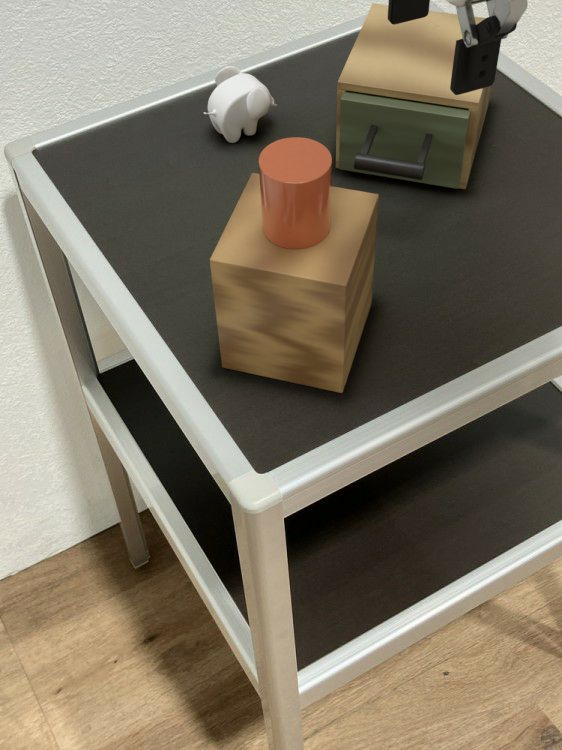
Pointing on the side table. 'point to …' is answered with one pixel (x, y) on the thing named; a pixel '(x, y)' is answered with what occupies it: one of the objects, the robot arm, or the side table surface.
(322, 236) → the spice jar
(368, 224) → the oak stand
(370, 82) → the cabinet
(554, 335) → the side table surface
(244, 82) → the elephant figurine
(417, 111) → the drawer
